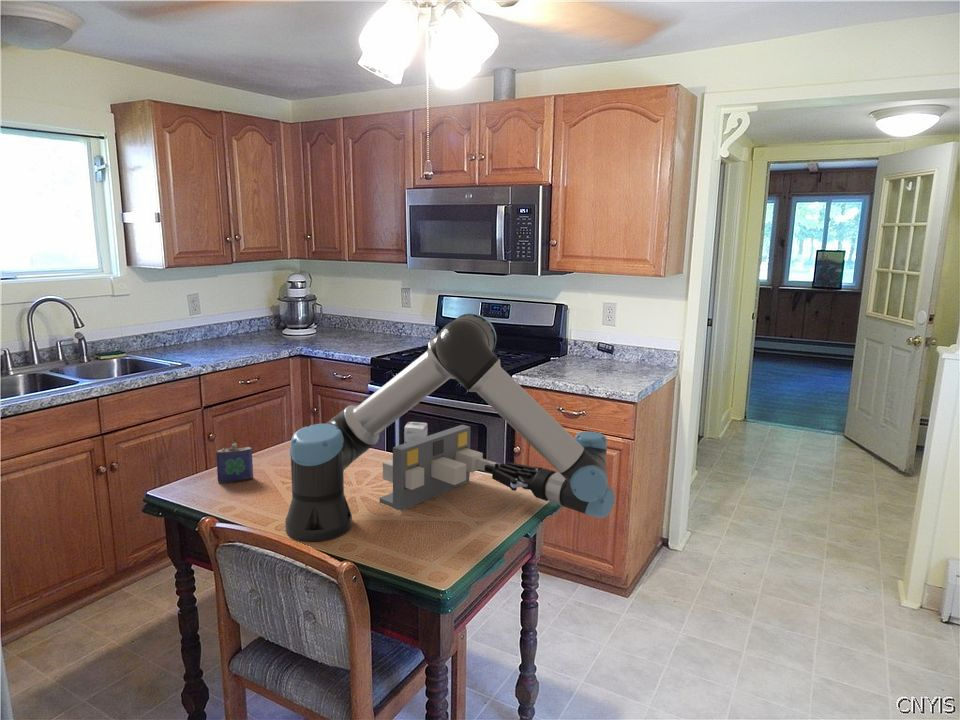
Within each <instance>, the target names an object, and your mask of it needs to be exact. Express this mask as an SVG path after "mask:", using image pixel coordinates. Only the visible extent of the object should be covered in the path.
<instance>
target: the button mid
mask: <svg viewBox="0 0 960 720" xmlns="http://www.w3.org/2000/svg"><path fill="white" fill-rule="evenodd" d="M431 477H433V478H436V479H439V480H442V481H444V482H447V483H450V484H453V485H456V484H459V483H461V482H463V481H466V464H464V463H461V462H458V461H455V460H452V459H449V458H446V457H442V456H440V457H438V458H435V459H432V460H431Z"/></svg>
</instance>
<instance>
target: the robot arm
mask: <svg viewBox="0 0 960 720" xmlns="http://www.w3.org/2000/svg"><path fill="white" fill-rule="evenodd" d="M496 345H497V333H496V330H495V327H494V325H493V324H492V323H491V321H490V320H488V319H487V318H486V317H485V316H483V315H481V314H477V313H465V314H461V315H459V316H458V317H456V318H455V319H454V320H453V321H451V322H449V323H447V324H446V325H445V326H443V327H442V329H441V330H440V331H439V332H438V333H437V334H436V335H435V336H433V337H432V338H431V339H429V340H428V345H427V350H426V351H424V353H422V354H421V355H420V356H419V357H417V358H416V359H414V360H413V361H412V362H411V363H410V364H409V365H407V366H405V368H404V369H402V370H401V371H400V372H398V373H397V374H396V375H395V376H393V377H392V378H391V379H389V381H387V382H386V383H385V384H383V385H382V386H381V387H380V388H378V389H377V390H376V391H375V392H373V393H372V394H371V395H370V396H368V397H367V398H366V399H364V400H363V401H362V402H361V403H360V404H359V405H351V404H350V405H347V406H346V407H345V408H343V409H342V410H341V411H339V412H338V413H337V414H336V415H335V416H334V417H332V418H331V419H329V420H328V421H327V422H326V423H314V424H310V425H309V426H304V427H302V428H299V430H297V431H295V432H294V433H293V435H292V437H291V439H290V448H289V456H290V474H291V491H292V492H291V493H292V495H291V496H292V497H291V501H290V504H289V507H288V511H287V515H286V517H285V521H284V522H285V525H284V526H285V533H286V534H287V535H288V536H289V537H290V538H292V539H295V540H299V541H303V542H322V541H328V540H332V539H335V538H339V537H340V536H343V535H344V534H346V533H348V532H349V531H350V529H351V528H352V526H353V515H352V511H351V510H350V507H349V503H348V501H347V498H346V496H345V491H344V490H345V487H344V486H345V485H344V484H345V483H344V482H345V481H344V477H345V476H344V471H345V470H346V469H347V468H348V467H349V466H351V464H352V463H353V462H355V461H356V460H357V459H359V457H360V456H362V455H363V454H365V452H367V451H368V450H370V449H371V448H372V447H374V446H375V445H376V444H378V441H379V439H380V433H382V432H383V431H384V430H386V429H387V428H388V427H390V426H391V425H392V424H393V423H394V422H395V421H398V419H400V418H401V417H402V416H403V415H405V414H407V413H408V411H410V410H411V409H413V408H414V407H415V406H417V404H419V403H420V402H422V401H423V400H424V399H425V398H427V397H428V396H429V395H431V394H432V393H433V392H434V391H436V390H437V389H439V388H440V387H441V386H443V385H444V384H445V383H446V382H447V381H449V380H451V379H453V380H456V381H457V382H458V383H459V384H460V385H461V386H463V388H464V389H466V390H467V392H470V393H473V392H474V393H477V395H478V396H479V397H481V398H482V399H483V400H484V401H485V402H486V404H488V405H489V406H490V407H491V408H492V409H493V410H494V411H495V412H496V413H497V414H498V415H499V417H501V418H502V419H503V420H504V421H506V423H507V424H508V425H510V427H512V429H513V430H515V431H516V432H517V434H519V435H520V436H521V437H522V438H523V439H524V440H525V441H526V442H527V443H528V444H529V446H531V447H532V448H533V449H535V450H536V452H537V453H538V454H540V456H542V458H544V459H545V461H547V463H549V465H551V466H552V467H553V468H554V469H555V470H556V471H555V470H552V469H549V468H544V467H541V466H540V467H537V466H530V465H525V464H521V463H516V462H509V461H508V462H506V463H498V462H497V461H496V462H495V461H492V460H489V459H485V458H479V459H477V469H479V470H478V471H482V472H485V473H489V474H492V475H491V476H492V477H491V479H492V480H494V481H496V482H498V483H499V484H501V485H504V486H506V487H508V488H510V490H511V491H512V492H515V491H517V490H518V488H522V489H523V490H528V491H529V490H530V491H531V493H532V494H533V496H534V497H535V498H536V499H540V500H542V501H546V502H549V503H553V504H555V505H558V506H560V507H561V508H563V507H564V508H567V509H571V510H573V511H576V512H578V513H581V514H584V515H586V516H590V517H594V518H599V519H604V518H606V517H608V516H609V514H611V512H612V510H613V507H614V505H615V497H616V496H615V494H614V493H615V492H614V490H613V488H611V487H609V486H608V483H609V482H608V481H609V478H608V472H607V470H608V469H607V451H608V446H607V445H608V443H607V442H608V440H607V436H606V435H604V434H603V433H600V432H598V431H591V430H588V431H580V432H577V433H576V434H575V436H574V437H573V436H572V435H571V433H569V432H568V430H566V429H565V428H564V427H563V426H562V425H561V424H560V423H559V422H558V420H556V419H555V418H554V417H553V416H552V415H551V414H550V413H549V412H548V411H547V410H546V409H545V408H544V407H543V406H542V405H540V404H539V403H538V401H536V399H534V397H532V396H531V395H530V394H529V393H528V392H527V391H526V390H525V389H524V388H523V387H522V386H521V385H520V384H519V383H518V382H517V381H516V380H515V379H514V378H513V377H512V376H511V375H510V373H508V372H507V371H506V370H504V369H503V368H502V366H501V359H500V358H499V357H498V356H497V355H496V354H495V353H494V350H495V348H496Z"/></svg>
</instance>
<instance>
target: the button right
mask: <svg viewBox="0 0 960 720" xmlns="http://www.w3.org/2000/svg"><path fill="white" fill-rule="evenodd" d="M483 456H484V453H483V452H480V451H477V450H474V449H471V448H470V449H468V448H462V449H459V450H457V451H455V461H458V462H461V463H464V464H466V471H468V472H470V473H474V472H477V471H480V470H479V469H477V459H479V458H483ZM483 459H484V458H483Z"/></svg>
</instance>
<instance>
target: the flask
mask: <svg viewBox="0 0 960 720" xmlns="http://www.w3.org/2000/svg"><path fill="white" fill-rule="evenodd" d="M237 445H238V443H235V442H233V443H232V444H231V446H230V447H229V448H228V447H227V448H224V447H223V448H222V449H218V450H216V454H215V457H216V469H217V470H216V471H217V472H216V473H217V481H218V484H234V483H237V482H238V483H239V482H247V481H250V480H253V478H254V465H253V462H254V461H253V448H252V447H250V446H247V447H240V448H238V447H237Z"/></svg>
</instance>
